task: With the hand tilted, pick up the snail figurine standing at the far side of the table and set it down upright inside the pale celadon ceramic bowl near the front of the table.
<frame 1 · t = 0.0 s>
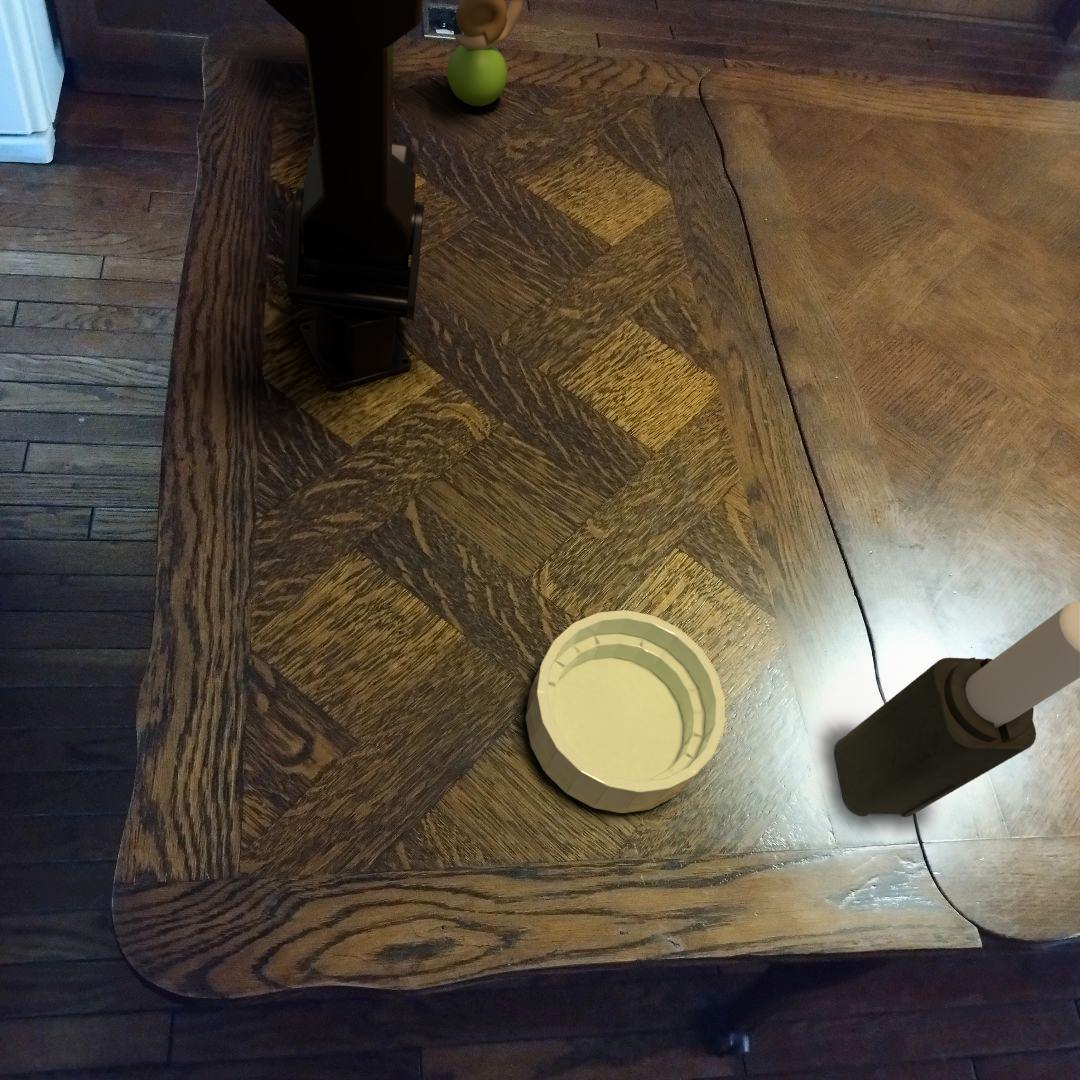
bowl: (613, 726, 62), on the table
candle: (874, 777, 63), on the table
snail figurine: (478, 101, 92), on the table
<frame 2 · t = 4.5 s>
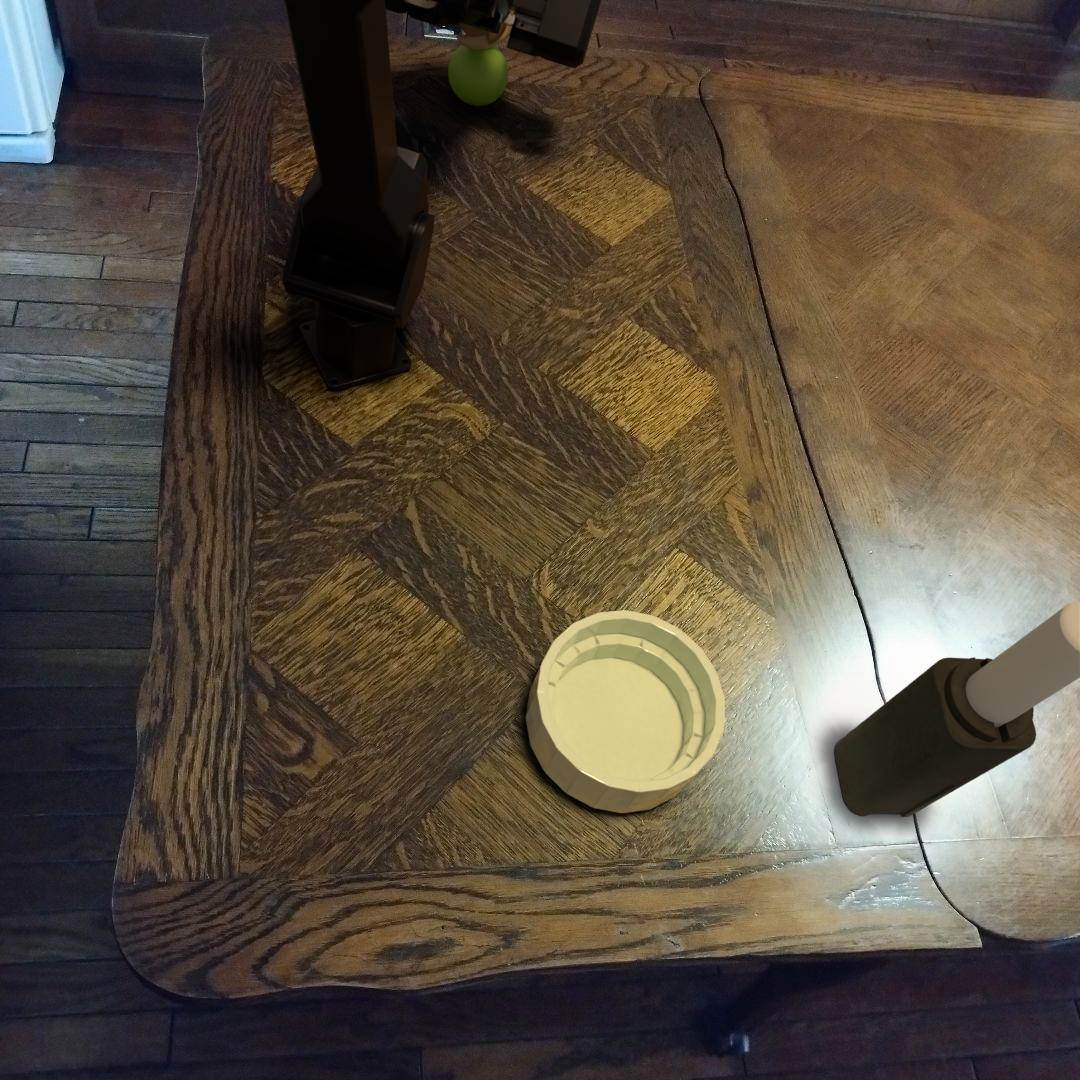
hand: (491, 24, 87), 7 cm above the table, tool tilted 45°, fingers closed on snail figurine, 4 cm apart
snail figurine: (479, 101, 92), on the table, touching gripper
everything else where it was.
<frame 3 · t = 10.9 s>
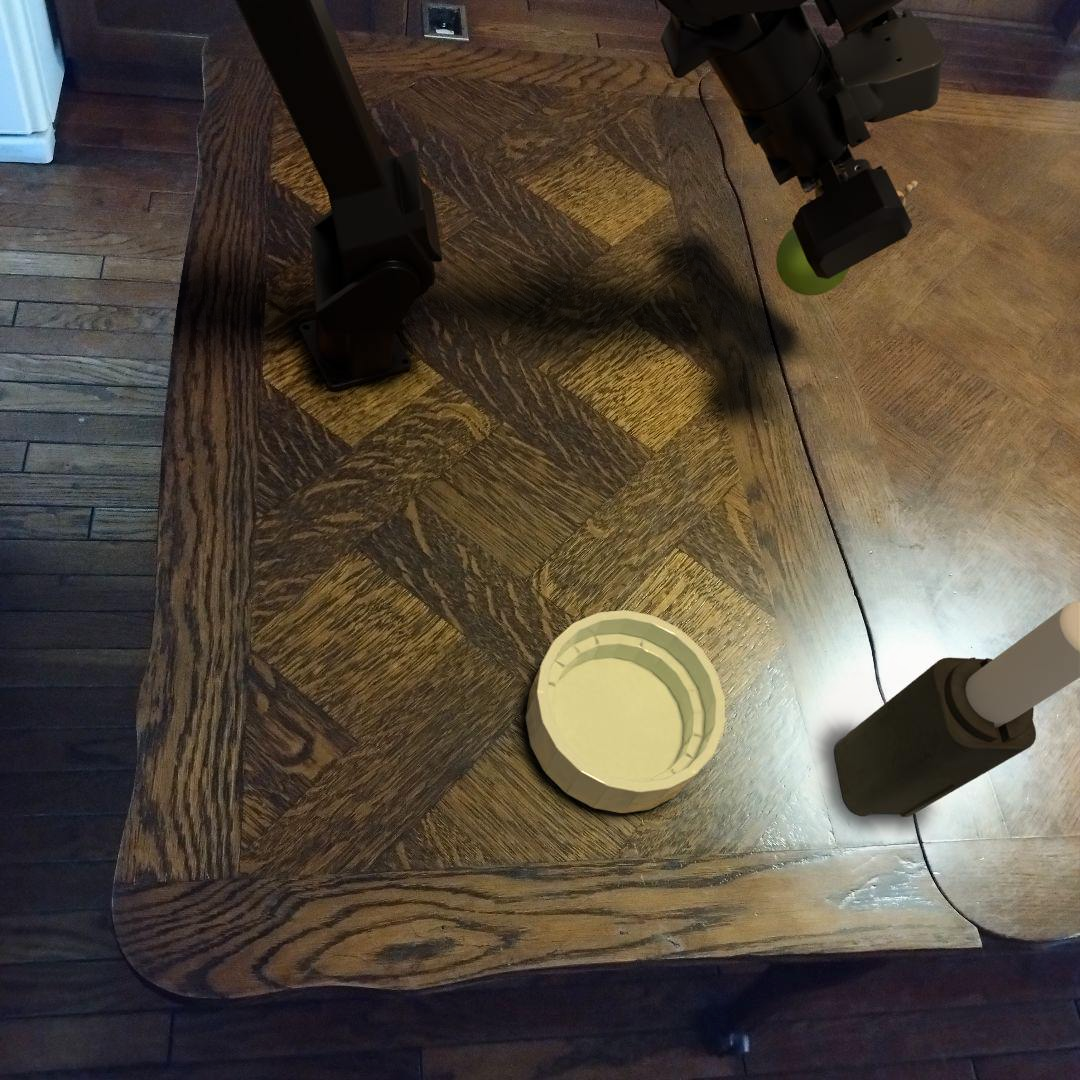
hand: (856, 221, 71), 13 cm above the table, tool tilted 45°, fingers closed on snail figurine, 4 cm apart
snail figurine: (802, 290, 76), point 6 cm above the table, touching gripper
everything else where it was.
when the fingers open (7 cm above the table, at t = 17.7 s): snail figurine stays where it is, resting on bowl.
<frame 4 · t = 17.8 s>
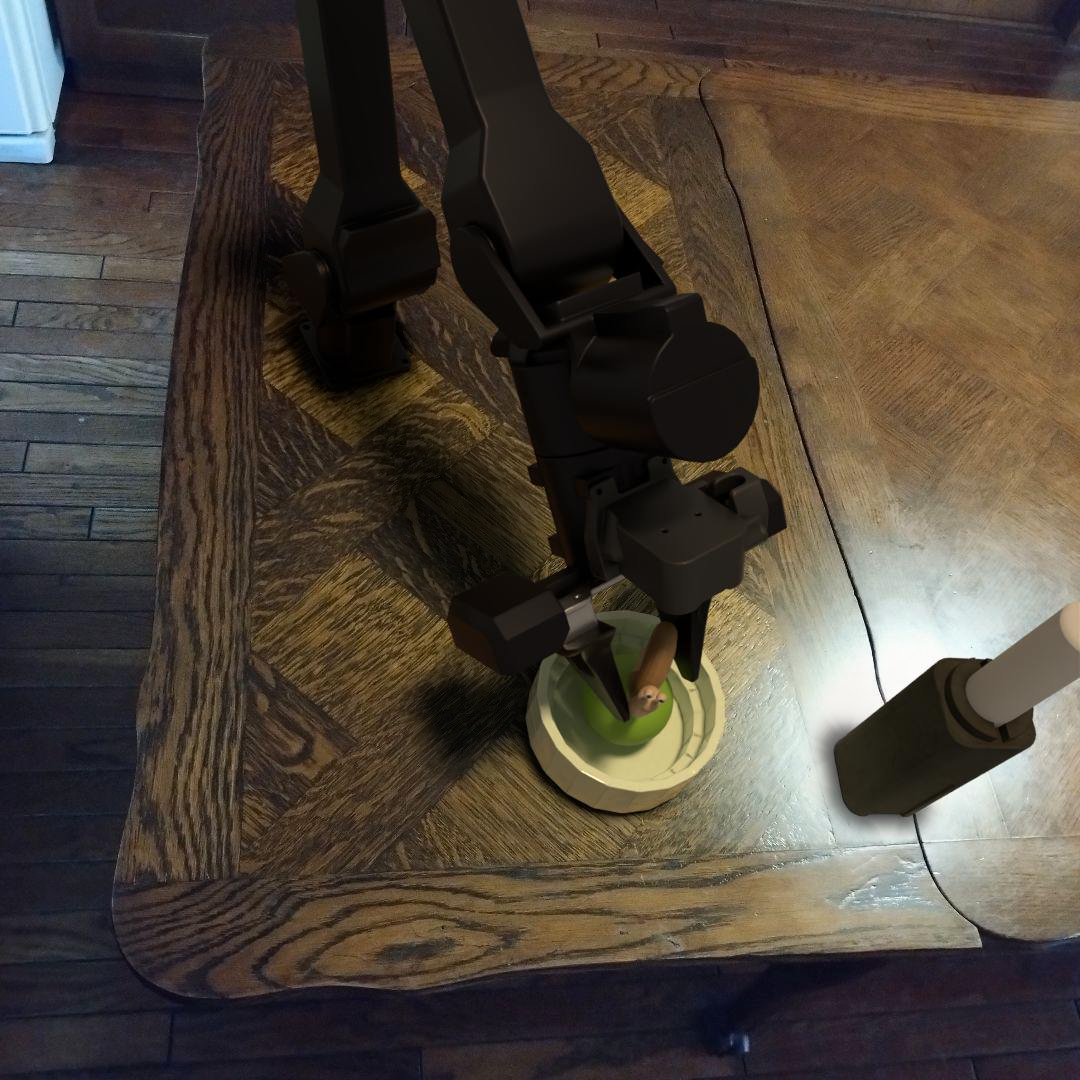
hand: (657, 699, 55), 7 cm above the table, tool tilted 45°, fingers open, 4 cm apart
snail figurine: (613, 722, 61), point 1 cm above the table, touching bowl
everything else where it was.
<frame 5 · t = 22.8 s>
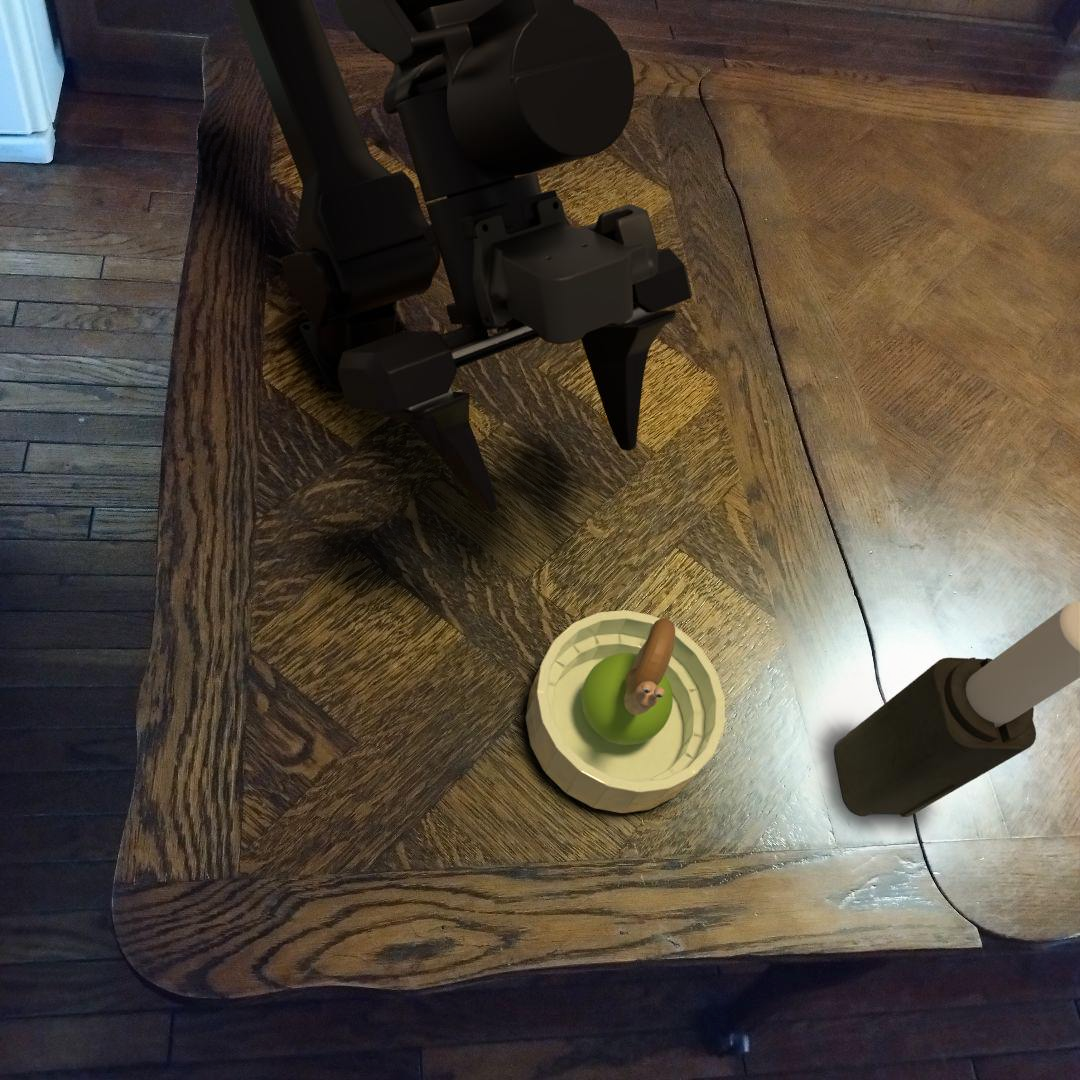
hand: (562, 479, 54), 14 cm above the table, tool tilted 45°, fingers open, 9 cm apart
nothing on the table moved.
at the end: snail figurine 0.1 cm off-centre in the bowl, point 0.6 cm above the bowl's base; snail figurine tilted 0°; the gripper is holding nothing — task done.
